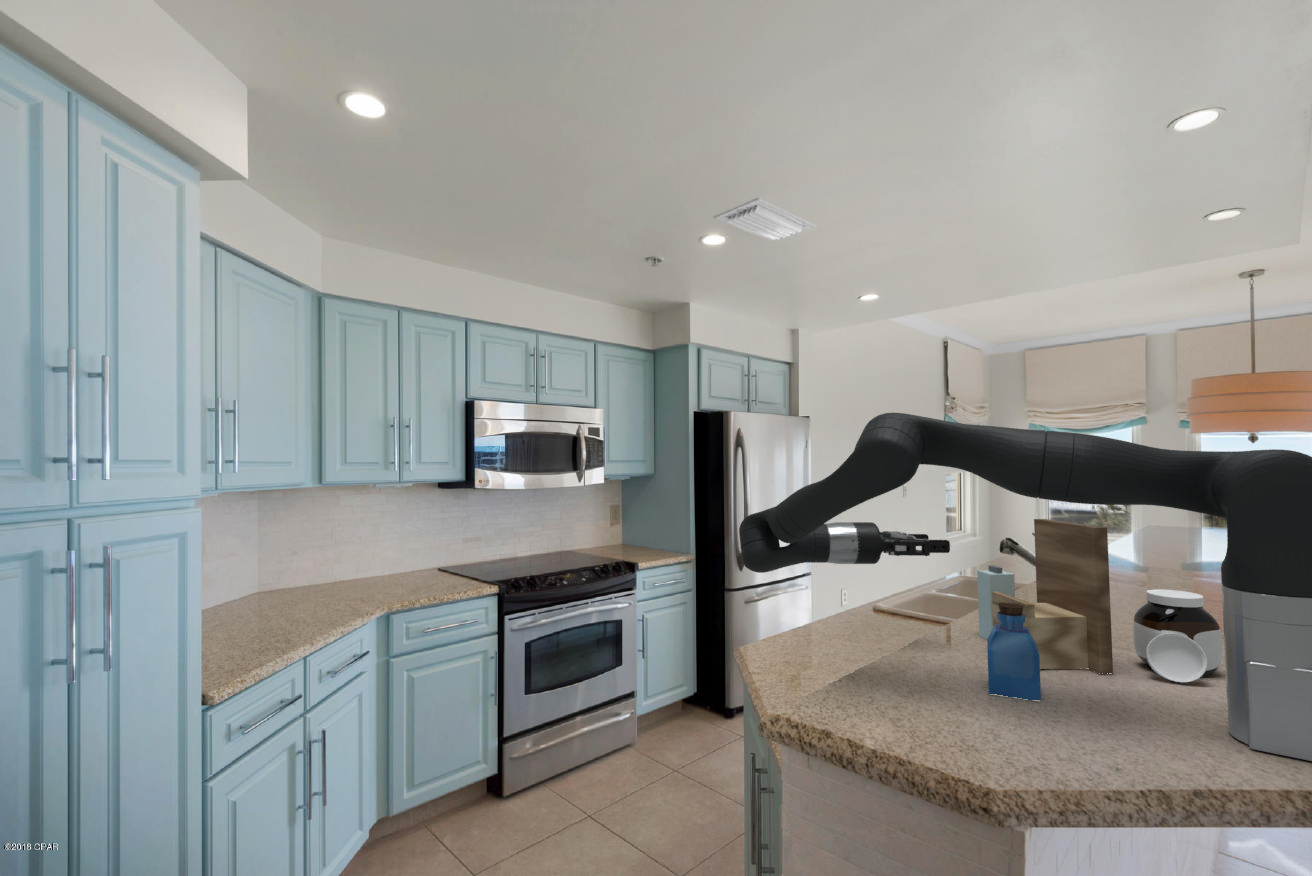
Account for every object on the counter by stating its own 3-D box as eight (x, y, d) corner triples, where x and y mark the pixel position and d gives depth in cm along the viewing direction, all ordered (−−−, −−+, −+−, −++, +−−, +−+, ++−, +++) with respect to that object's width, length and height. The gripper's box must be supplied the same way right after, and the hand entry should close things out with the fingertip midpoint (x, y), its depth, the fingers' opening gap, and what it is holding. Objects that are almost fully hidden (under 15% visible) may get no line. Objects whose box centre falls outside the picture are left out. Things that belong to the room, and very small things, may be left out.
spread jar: (1194, 663, 100) (1190, 589, 100) (1254, 688, 88) (1250, 604, 89) (1113, 661, 101) (1110, 588, 101) (1163, 686, 90) (1159, 603, 90)
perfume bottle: (988, 694, 87) (986, 607, 88) (988, 681, 93) (986, 598, 93) (1041, 702, 84) (1038, 611, 85) (1037, 687, 90) (1034, 602, 90)
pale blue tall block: (992, 642, 112) (989, 568, 113) (979, 635, 116) (977, 564, 117) (1016, 642, 112) (1014, 568, 113) (1002, 635, 116) (1000, 564, 117)
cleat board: (1039, 675, 95) (1033, 528, 95) (985, 646, 110) (981, 519, 110) (1113, 674, 95) (1107, 527, 96) (1049, 645, 110) (1045, 518, 111)
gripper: (862, 526, 108) (956, 526, 108) (837, 518, 122) (920, 518, 122) (863, 570, 108) (957, 570, 108) (838, 557, 122) (921, 557, 122)
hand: (937, 543), depth 115 cm, fingers open, 8 cm apart
